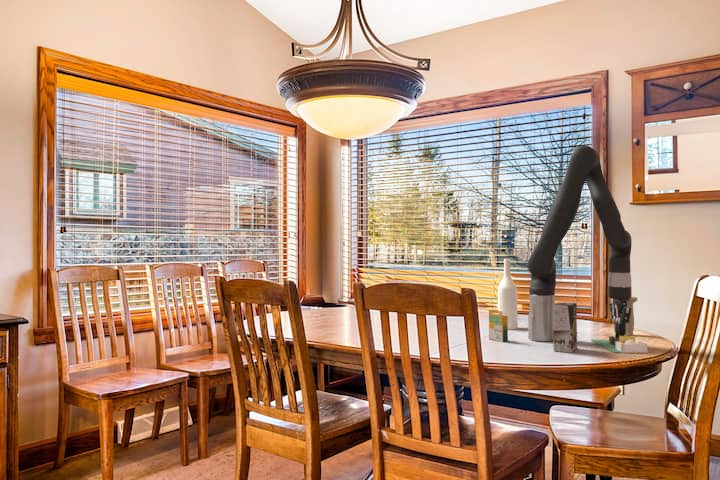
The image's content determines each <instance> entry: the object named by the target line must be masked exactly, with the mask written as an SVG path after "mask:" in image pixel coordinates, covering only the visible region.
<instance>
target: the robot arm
mask: <svg viewBox="0 0 720 480" xmlns="http://www.w3.org/2000/svg"><path fill="white" fill-rule="evenodd" d="M585 183H586V185H587V188H588V190H589V195H590V197H591V201H592V205H593V207H594V209H595V212H596V216H597V217H598V220H599V222H600V223H601V226H602V230H603V231H602V232H603V234H604V237H605V240H606V242H607V244H608V245H609V246H610V257H609V259H608V278H607V291H608V293H607V296H608V298H609V299H612V303H609V304H608V306H609V312H610V317H611V320H613V321H612V322H613V323H614V330H613V331H614V332H615V317H618V322H619V334H621V335H624V334H626V324H627V323H629V319H630V314H631V308H628V305H627V299H631V297H633V296H632V274H631V253H632V235H631V234H630V232H629V231H627V230H626V229H625V226H624V224H623V222H622V215H621V213H620V210H619V208H618V206H617V204H616V202H615V199H614V197H613V195H612V193H611V190H610V189H609V186H608V184H607V183H606V179H605V176H604V173H603V170H602V165H601V161H600V154H599V153H598V152H597V150H596V149H594V148H593V147H592V146H589V145H580V146H578V147H576V148H575V149H574V150H573V151H572V153H571V154H570V157H569V161H568V164H567V168H566V172H565V175H564V178H563V179H562V183H561V184H560V186H559V189H558V191H557V193H556V194H555V198H554V200H553V201H552V204H551V207H550V209H549V211H548V214H547V217H546V219H545V223H544V225H543V228H542V232H541V235H540V238H539V239H538V241H537V244H536V245H535V248H534V250H533V251H532V253H531V255H530V257H529V258H528V261H527V270H528V272H529V273H530V285H529V313H528V317H527V318H528V326H527V328H528V330H527V331H528V339H530V340H531V341H534V342H535V341H537V342H552V341H553V342H554V331H553V305H554V304H556V295H555V292H556V286H557V282H556V281H557V275H556V274H557V265H556V261H555V260H556V259H555V257H556V254H557V252H558V250H559V249H558V248H559V246H560V245H561V242H562V241H563V239H564V238H565V237H566V235H567V233H568V232H569V230H570V228H571V226H572V225H573V223H574V221H575V218H576V215H577V213H578V210H579V207H580V203H581V198H582V193H583V188H584V185H585Z"/></svg>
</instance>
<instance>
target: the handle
mask: <svg viewBox="0 0 720 480" xmlns="http://www.w3.org/2000/svg"><path fill="white" fill-rule="evenodd" d="M637 301H638V297H637V296H632V297H631V299H627V305H628V308H631V314H630V319H629V323H627V324H626V334H625V336H634V329H635V328H634V327H635V315H634V303H636V302H637Z"/></svg>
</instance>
